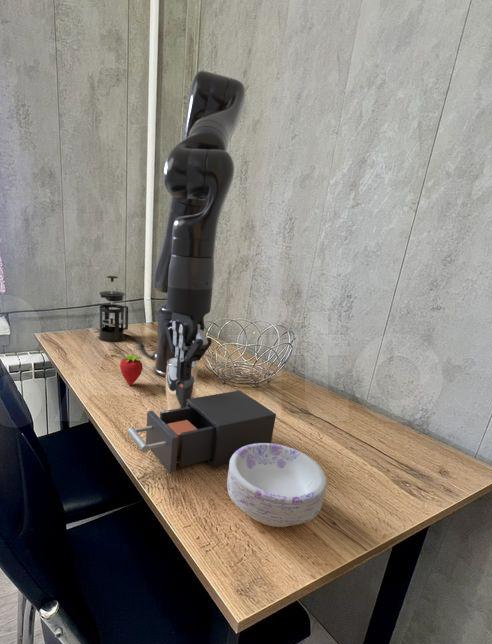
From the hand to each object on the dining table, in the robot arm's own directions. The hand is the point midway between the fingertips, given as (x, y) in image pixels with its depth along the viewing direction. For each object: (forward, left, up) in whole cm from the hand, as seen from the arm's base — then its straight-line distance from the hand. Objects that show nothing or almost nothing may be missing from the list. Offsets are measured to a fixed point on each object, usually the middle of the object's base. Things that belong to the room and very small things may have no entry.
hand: (183, 379), depth 73 cm
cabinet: (0, +12, -17) cm, 20 cm away
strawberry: (-36, +5, -17) cm, 40 cm away
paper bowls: (+19, +8, -17) cm, 26 cm away
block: (0, +1, -15) cm, 15 cm away
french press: (-79, +15, -17) cm, 82 cm away
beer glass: (-12, +7, -17) cm, 22 cm away
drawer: (0, 0, -16) cm, 16 cm away
